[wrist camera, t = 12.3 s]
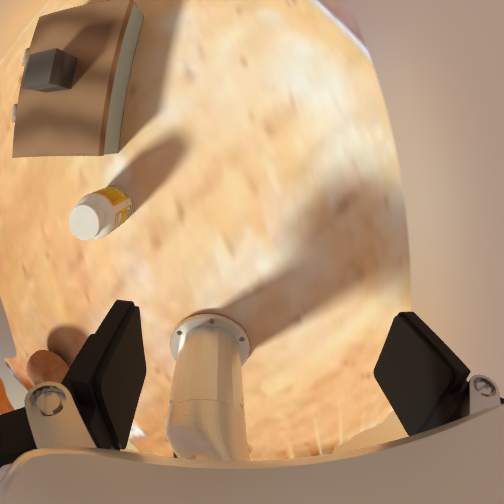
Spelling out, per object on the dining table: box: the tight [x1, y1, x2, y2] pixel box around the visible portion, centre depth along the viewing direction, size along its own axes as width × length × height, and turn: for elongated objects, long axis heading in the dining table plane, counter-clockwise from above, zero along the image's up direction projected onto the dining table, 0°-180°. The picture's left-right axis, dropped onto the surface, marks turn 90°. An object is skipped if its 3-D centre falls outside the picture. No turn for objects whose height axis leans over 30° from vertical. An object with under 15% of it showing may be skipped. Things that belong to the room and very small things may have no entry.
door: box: [12, 0, 134, 158], centre depth 21 cm, size 20×15×6 cm
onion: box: [27, 350, 70, 386], centre depth 39 cm, size 10×9×10 cm
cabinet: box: [104, 3, 144, 154], centre depth 27 cm, size 20×15×5 cm
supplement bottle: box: [69, 186, 132, 240], centre depth 31 cm, size 5×5×10 cm
